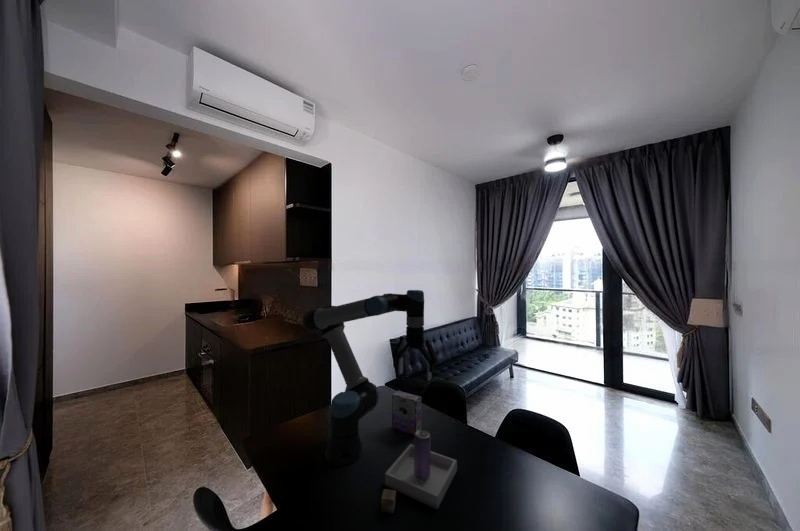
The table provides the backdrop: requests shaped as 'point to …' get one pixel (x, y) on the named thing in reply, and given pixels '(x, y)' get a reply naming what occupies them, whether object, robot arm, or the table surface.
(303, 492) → the table surface
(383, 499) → the oak block
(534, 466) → the table surface
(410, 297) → the robot arm
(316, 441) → the table surface
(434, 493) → the bin
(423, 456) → the beverage can
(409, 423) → the candy box
